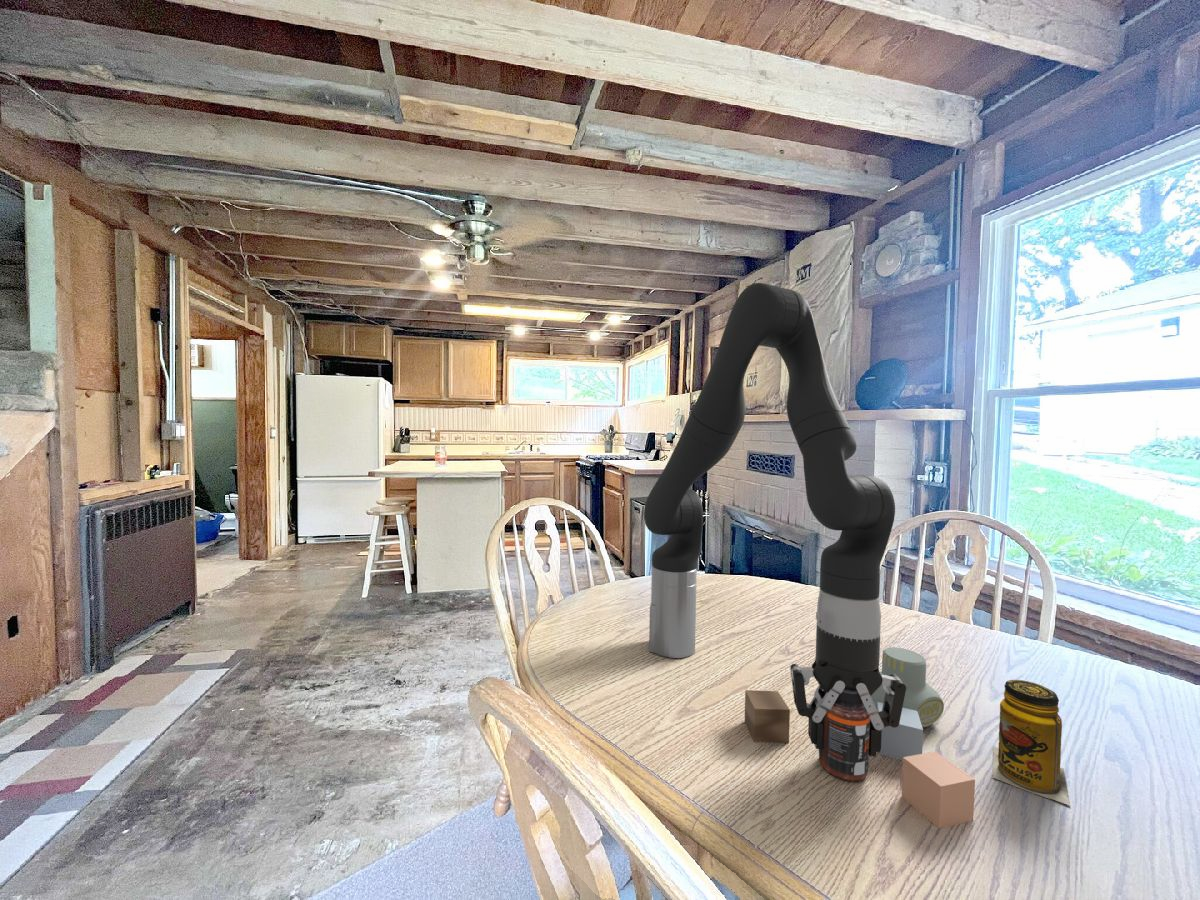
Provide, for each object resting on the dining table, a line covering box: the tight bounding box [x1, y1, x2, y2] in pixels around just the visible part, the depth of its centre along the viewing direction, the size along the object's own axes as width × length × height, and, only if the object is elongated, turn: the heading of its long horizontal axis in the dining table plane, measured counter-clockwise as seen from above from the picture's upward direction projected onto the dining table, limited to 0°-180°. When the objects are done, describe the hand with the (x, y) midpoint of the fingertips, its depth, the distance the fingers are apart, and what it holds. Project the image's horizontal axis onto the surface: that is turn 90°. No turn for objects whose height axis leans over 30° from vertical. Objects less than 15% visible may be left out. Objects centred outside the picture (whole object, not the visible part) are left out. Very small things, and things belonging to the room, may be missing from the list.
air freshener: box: [871, 646, 945, 728], centre depth 76 cm, size 11×8×10 cm
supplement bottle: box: [818, 689, 870, 782], centre depth 64 cm, size 6×6×11 cm
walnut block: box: [744, 689, 791, 744], centre depth 71 cm, size 5×5×5 cm
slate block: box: [877, 702, 924, 761], centre depth 68 cm, size 5×5×5 cm
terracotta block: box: [901, 750, 976, 829], centre depth 57 cm, size 5×5×5 cm
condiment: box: [992, 679, 1071, 807], centre depth 63 cm, size 7×8×12 cm
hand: (843, 748), depth 64 cm, fingers closed on supplement bottle, 6 cm apart
